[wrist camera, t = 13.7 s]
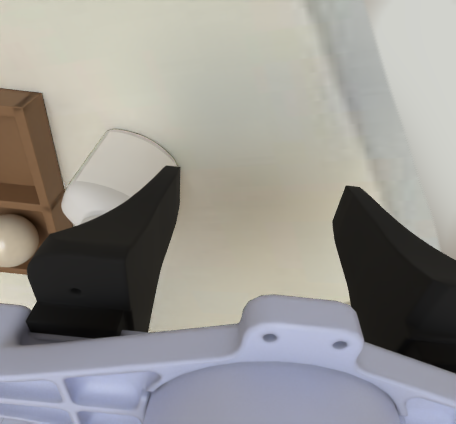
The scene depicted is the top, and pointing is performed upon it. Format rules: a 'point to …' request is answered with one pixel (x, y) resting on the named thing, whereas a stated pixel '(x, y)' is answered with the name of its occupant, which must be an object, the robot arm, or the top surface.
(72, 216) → the eye dropper bottle
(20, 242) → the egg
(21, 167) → the wooden compartment tray
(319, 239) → the top surface
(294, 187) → the top surface
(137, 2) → the top surface
